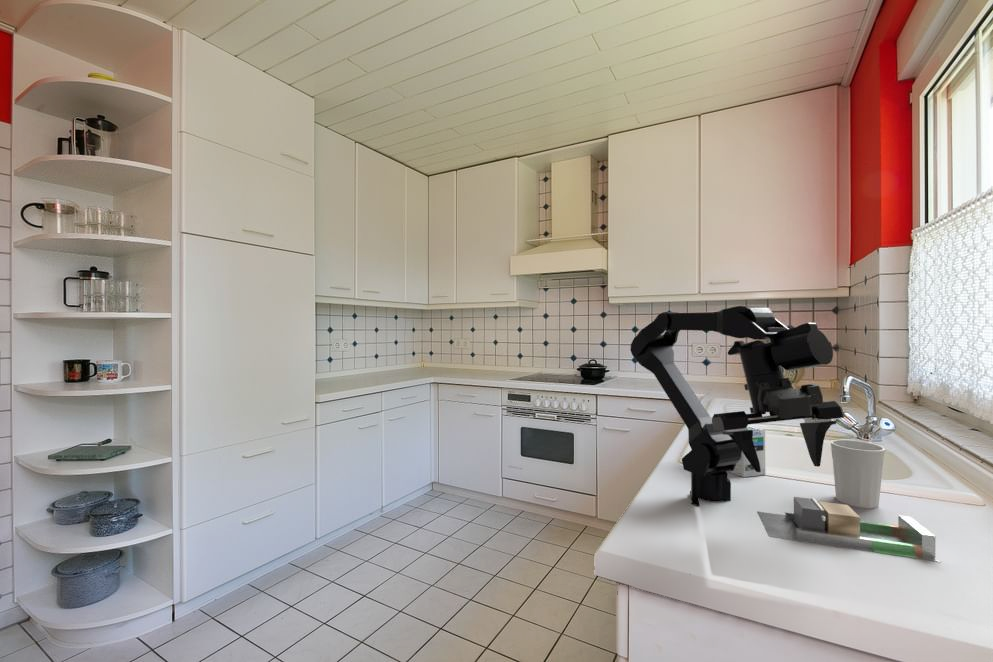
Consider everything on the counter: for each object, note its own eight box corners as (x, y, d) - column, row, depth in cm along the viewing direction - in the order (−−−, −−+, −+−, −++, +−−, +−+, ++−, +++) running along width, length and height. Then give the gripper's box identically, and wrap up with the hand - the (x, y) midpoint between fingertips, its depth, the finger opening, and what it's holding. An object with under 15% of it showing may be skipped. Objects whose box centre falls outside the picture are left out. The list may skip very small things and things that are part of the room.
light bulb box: (766, 475, 101) (766, 429, 101) (743, 478, 99) (743, 431, 99) (730, 461, 112) (730, 419, 111) (708, 464, 110) (708, 421, 109)
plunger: (803, 535, 69) (803, 509, 69) (793, 519, 74) (793, 495, 74) (826, 538, 68) (826, 511, 68) (814, 522, 73) (814, 498, 73)
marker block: (828, 538, 68) (828, 513, 68) (818, 525, 73) (818, 501, 73) (859, 543, 67) (860, 517, 67) (847, 529, 72) (847, 504, 72)
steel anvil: (921, 554, 64) (922, 534, 64) (898, 533, 70) (898, 515, 70) (935, 556, 63) (935, 536, 63) (910, 535, 70) (910, 516, 70)
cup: (895, 518, 78) (895, 452, 78) (844, 514, 80) (845, 449, 80) (867, 501, 86) (867, 440, 86) (821, 498, 88) (822, 438, 88)
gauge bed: (769, 543, 69) (769, 528, 69) (757, 518, 79) (757, 504, 79) (941, 570, 62) (941, 553, 62) (905, 538, 71) (905, 523, 71)
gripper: (725, 377, 69) (749, 480, 65) (852, 362, 67) (884, 467, 63) (702, 384, 79) (722, 473, 76) (810, 371, 78) (836, 461, 74)
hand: (787, 469), depth 72 cm, fingers open, 9 cm apart
